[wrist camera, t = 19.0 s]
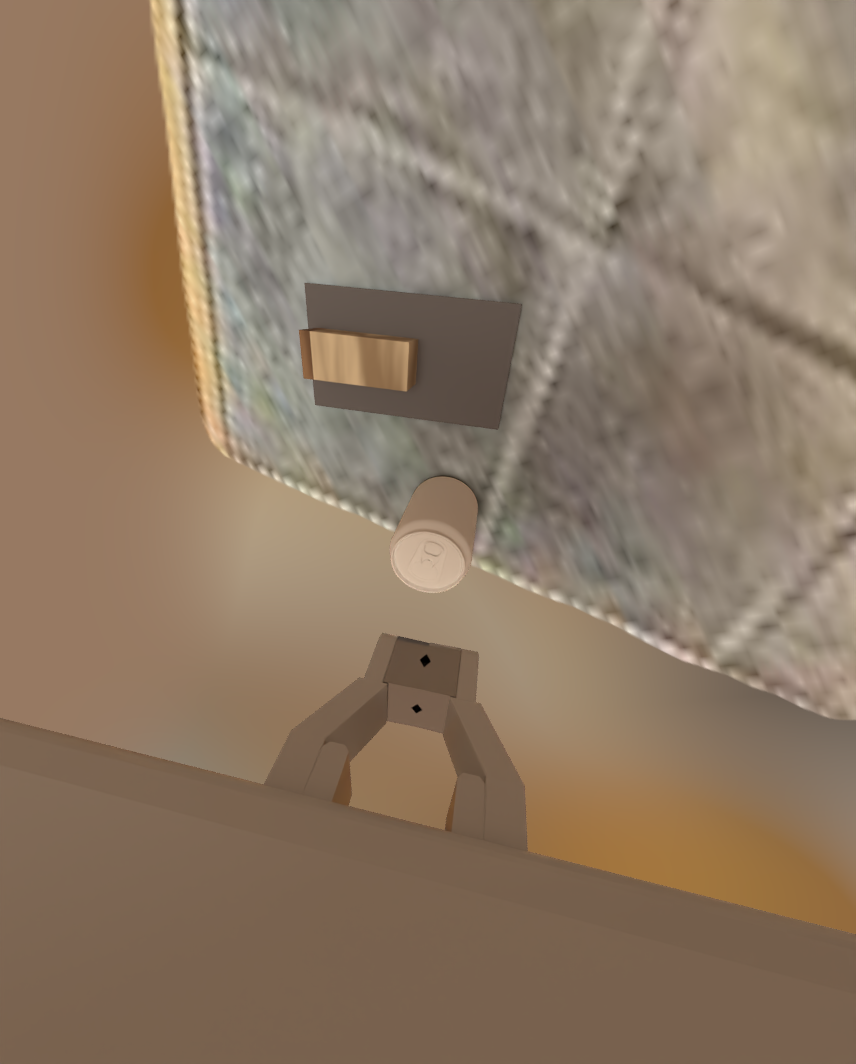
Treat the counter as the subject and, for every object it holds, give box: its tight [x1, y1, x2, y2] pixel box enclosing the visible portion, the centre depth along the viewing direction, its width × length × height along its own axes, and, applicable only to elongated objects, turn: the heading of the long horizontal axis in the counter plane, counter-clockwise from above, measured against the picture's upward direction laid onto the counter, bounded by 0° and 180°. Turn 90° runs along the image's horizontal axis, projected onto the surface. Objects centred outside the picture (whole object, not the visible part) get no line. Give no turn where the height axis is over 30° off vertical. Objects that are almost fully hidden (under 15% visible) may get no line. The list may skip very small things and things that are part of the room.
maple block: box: [299, 328, 418, 391], centre depth 34 cm, size 4×4×10 cm
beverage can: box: [390, 477, 478, 593], centre depth 38 cm, size 8×8×12 cm
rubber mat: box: [305, 283, 522, 430], centre depth 35 cm, size 20×11×1 cm, turn 85°
